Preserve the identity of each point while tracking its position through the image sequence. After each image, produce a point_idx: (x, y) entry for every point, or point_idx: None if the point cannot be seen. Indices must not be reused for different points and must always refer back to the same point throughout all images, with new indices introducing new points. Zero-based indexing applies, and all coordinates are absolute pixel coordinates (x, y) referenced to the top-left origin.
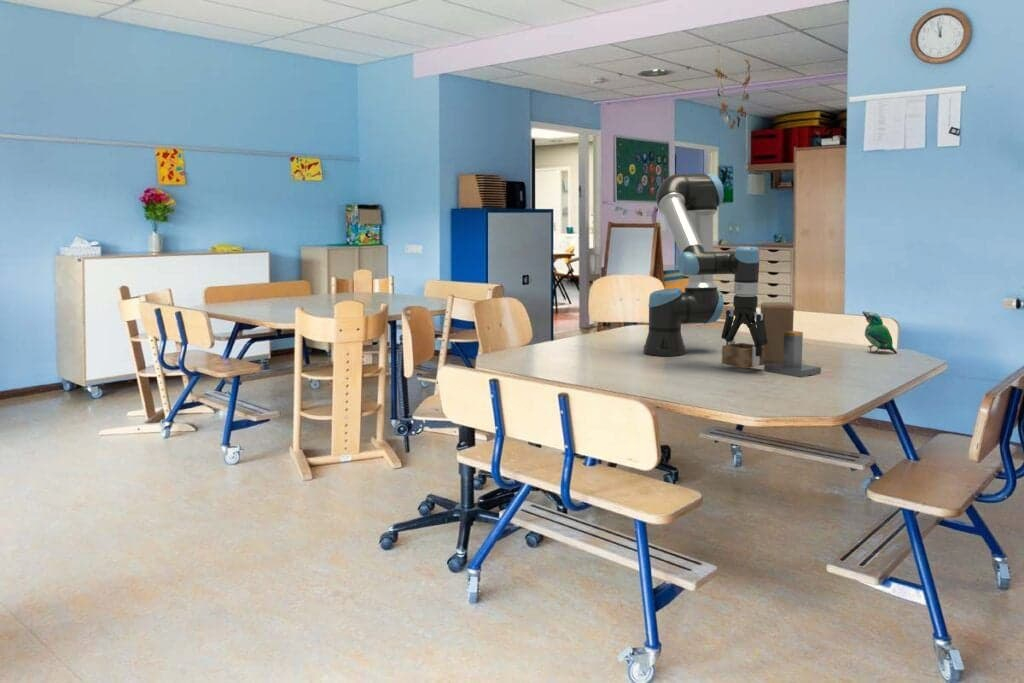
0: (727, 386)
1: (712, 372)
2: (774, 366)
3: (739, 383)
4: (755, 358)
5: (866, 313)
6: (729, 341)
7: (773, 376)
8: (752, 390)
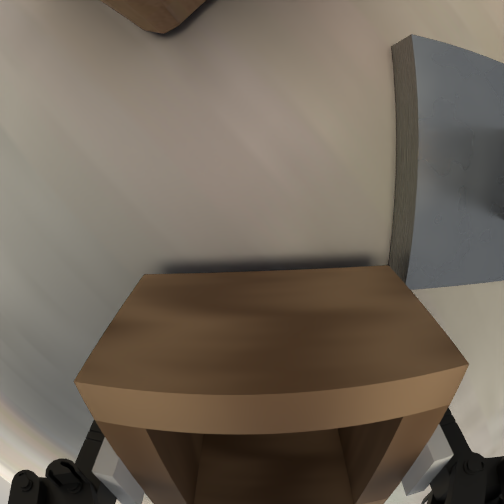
0: (403, 494)
1: None
2: (476, 283)
3: None
4: None
5: None
6: (116, 498)
7: (480, 340)
8: None
